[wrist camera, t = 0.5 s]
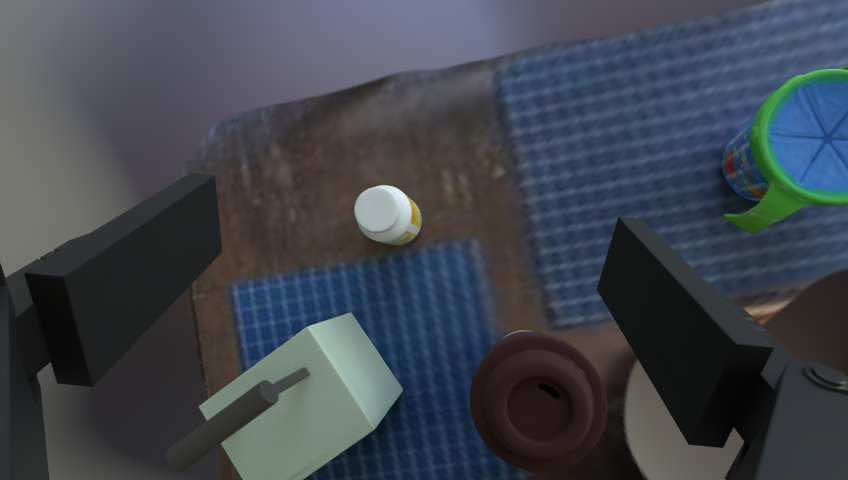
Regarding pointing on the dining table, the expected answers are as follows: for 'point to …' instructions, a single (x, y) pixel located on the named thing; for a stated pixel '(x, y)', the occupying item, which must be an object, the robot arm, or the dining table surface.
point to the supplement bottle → (387, 215)
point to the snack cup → (792, 150)
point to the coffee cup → (538, 402)
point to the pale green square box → (296, 405)
